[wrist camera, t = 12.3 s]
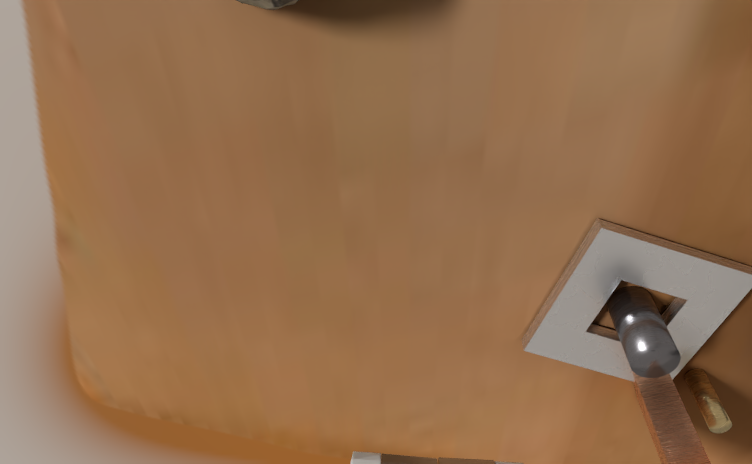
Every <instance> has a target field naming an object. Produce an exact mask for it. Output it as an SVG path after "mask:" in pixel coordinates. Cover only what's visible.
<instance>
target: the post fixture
mask: <svg viewBox="0 0 752 464" xmlns="http://www.w3.org/2000/svg"><path fill="white" fill-rule="evenodd" d="M607 307H608V311H609V313H610V316H611V318H612V321H613V323H614V326H615V329H616V331H617V334H618V336H619V339H620V341H621V344H622V347H623V349H624V352H625V354H626V357H627V359H628V362H629V365H630V367H631V369H632V371H633V372H634V373H635V374H637V375H638V376H641V377H645V378H658V377H662V376H665V375H667V374H669V373H671V372H672V371H674V370H675V369H676V368H677V366H678V365H679V363H680V360H681V356H680V353H679V351H678V349H677V347H676V345H675V343H674V341H673V339H672V337H671V335H670V333H669V331H668V329H667V327H666V325H665V323H664V321H663V319H662V317H661V315H660V313H659V311H658V308H657V306H656V304H655V302H654V300H653V298H652V296H651V294H650V293H649V292H648V291H647V290H646V289H644V288H641V287H637V286H629V287H625V288H622V289H619V290H618V291H616V292H615V293H613V294H612V295H611V297H610V298H609V300H608V303H607ZM685 380H686V382H687V384H688V386H689V388H690V390H691V392H692V395H693V397H694V399H695V401H696V403H697V405H698V407H699V409H700V411H701V413H702V415H703V417H704V419H705V422H706V424H707V426H708V428H709V430H710V431H711V432H713V433H723V432H726V431H728V430H729V429H730V428H731V427H732V422H731V421H730V419H729V417H728V415H727V413H726V411H725V409H724V407H723V405H722V403H721V402H720V400H719V398H718V396H717V394H716V392H715V390H714V388H713V386H712V384H711V382H710V381H709V379H708V377H707V375H706V373H705V371H704V370H702V369H692V370H690V371H688V372H687V373H686V374H685Z"/></svg>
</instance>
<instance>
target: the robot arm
mask: <svg viewBox="0 0 752 464" xmlns="http://www.w3.org/2000/svg"><path fill="white" fill-rule="evenodd" d="M351 464H523V463H517V462H495V461H493V460H478V459H459V458H438V462H437V459H436V458H428V457H416V456H404V455H392V454H382V459H381V453H370V452H355V451H353V455H352V459H351Z"/></svg>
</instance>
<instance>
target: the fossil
mask: <svg viewBox="0 0 752 464" xmlns="http://www.w3.org/2000/svg"><path fill="white" fill-rule="evenodd" d="M237 1H239V2H241V3H246V4H250V5H253V6H257V7H261V8H264V9H269V10H275V9H279V8H282V7H283V6H288V5H292V4H295V3H296V2H297V1H298V0H237Z"/></svg>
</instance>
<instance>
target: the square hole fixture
mask: <svg viewBox="0 0 752 464" xmlns="http://www.w3.org/2000/svg"><path fill="white" fill-rule="evenodd" d="M621 280H623V281H626V282H630V283H633V284H636V285H639V286H643V287H646V288H649V289H653V290H656V291H659V292H663V293H666V294H669V295H673V296H676V298H675V299H674V300H673V301H672V303H671V304H670V305H669V307H668V308H667V309H666V310H665V312H664V313H663V314H662V316H661V317H662V319H663V321H664V323H665V325H666V327H667V329H668V331H669V333H670V335H671V337H672V339H673V341H674V343H675V345H676V347H677V349H678V351H679V353H680V356H681V360H680V363H679V365H678V366H677V368H676V369H675V370H674V371H672V372H671V373H669V374H667V375H665V376H662V377H658V378H645V377H641V376H638V375H637V374H635V373H634V372H633V371H632V369H631V367H630V365H629V362H628V359H627V357H626V354H625V352H624V349H623V347H622V344H621V341H620V339H619V336H618V334H617V331H615V330H612V329H608V328H605V327H601V326H598V325H594V324H591V323H592V322H593V320H594V319H595V317H596V316H597V314H598V313H599V312H600V310H601V309H602V307H603V306H604V304H605V303H606V301H607V300H608V299H609V297H610V296H611V294H612V293H613V291H614V290H615V289H616V287H617V286H618V284H619V283H620V281H621ZM751 289H752V267H751V266H748V265H744V264H741V263H738V262H735V261H732V260H728V259H725V258H722V257H719V256H716V255H712V254H709V253H706V252H703V251H700V250H696V249H693V248H690V247H687V246H684V245H680V244H677V243H674V242H671V241H668V240H665V239H661V238H658V237H655V236H652V235H649V234H645V233H642V232H639V231H636V230H633V229H629V228H626V227H623V226H620V225H617V224H613V223H610V222H607V221H604V220H601V219H597V220H596V221H595V223H594V224H593V226H592V228H591V229H590V231H589V232H588V234H587V236H586V237H585V239H584V240H583V242H582V244H581V245H580V247H579V248H578V250H577V252H576V253H575V255H574V257H573V258H572V260H571V261H570V263H569V265H568V266H567V268H566V269H565V271H564V273H563V274H562V276H561V277H560V279H559V281H558V282H557V284H556V285H555V287H554V289H553V290H552V292H551V293H550V295H549V297H548V298H547V300H546V302H545V303H544V305H543V306H542V308H541V310H540V311H539V313H538V314H537V316H536V318H535V319H534V321H533V322H532V324H531V326H530V327H529V329H528V330H527V332H526V334H525V335H524V337H523V339H522V344H523V349H524V351H527V352H531V353H534V354H538V355H541V356H545V357H548V358H552V359H555V360H559V361H562V362H566V363H570V364H573V365H577V366H580V367H584V368H587V369H591V370H594V371H598V372H601V373H605V374H608V375H612V376H616V377H619V378H623V379H626V380H630V381H633V382H634V386H635V390H636V394H637V397H638V401H639V405H640V407H641V410H642V413H643V415H644V418H645V420H646V423H647V426H648V428H649V431H650V434H651V436H652V439H653V442H654V444H655V447H656V449H657V452H658V455H659V457H660V460H661V463H662V464H711V463H710V461H709V459H708V457H707V454H706V452H705V450H704V448H703V446H702V443H701V441H700V439H699V437H698V435H697V432H696V430H695V428H694V426H693V424H692V422H691V419H690V417H689V415H688V413H687V411H686V408H685V406H684V404H683V402H682V400H681V397H680V395H679V393H678V391H677V389H676V387H675V384H674V382H673V379H674V377H675V376H676V375H677V374H678V373H679V372H680V371H681V369H682V368H683V367H684V366H685V365H686V364H687V362H688V361H689V360H690V359H691V358H692V357H693V356H694V354H695V353H696V352H697V351H698V350H699V349H700V347H701V346H702V345H703V344H704V343H705V342H706V341H707V339H708V338H709V337H710V336H711V335H712V334H713V332H714V331H715V330H716V329H717V328H718V327H719V326H720V324H721V323H722V322H723V321H724V320H725V319H726V317H727V316H728V315H729V314H730V313H731V312H732V311H733V309H734V308H735V307H736V306H737V305H738V304H739V302H740V301H741V300H742V299H743V298H744V297H745V296H746V294H747V293H748V292H749V291H750V290H751Z"/></svg>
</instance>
